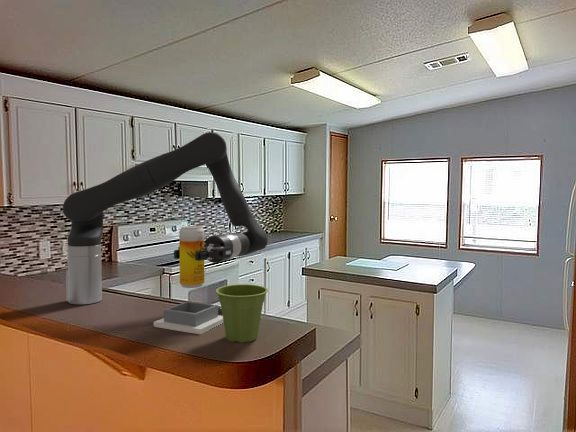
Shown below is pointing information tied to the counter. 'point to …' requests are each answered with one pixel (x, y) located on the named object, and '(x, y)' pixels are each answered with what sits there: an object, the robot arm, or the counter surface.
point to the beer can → (191, 256)
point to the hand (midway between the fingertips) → (185, 255)
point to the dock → (190, 317)
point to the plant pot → (241, 310)
